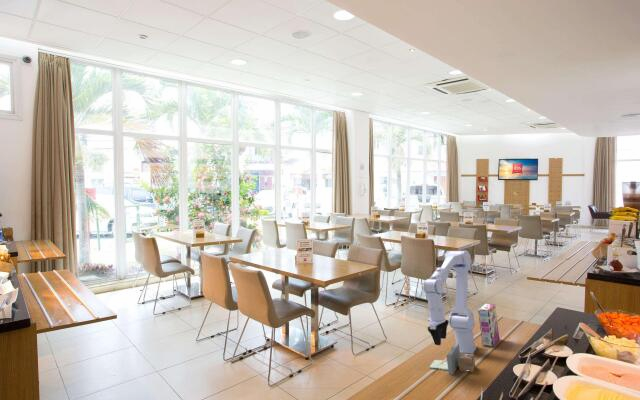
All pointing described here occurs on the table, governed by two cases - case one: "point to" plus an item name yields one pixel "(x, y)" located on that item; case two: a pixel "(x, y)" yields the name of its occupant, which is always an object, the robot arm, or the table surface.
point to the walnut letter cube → (466, 362)
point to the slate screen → (453, 359)
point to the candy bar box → (488, 324)
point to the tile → (442, 366)
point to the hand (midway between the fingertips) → (440, 341)
